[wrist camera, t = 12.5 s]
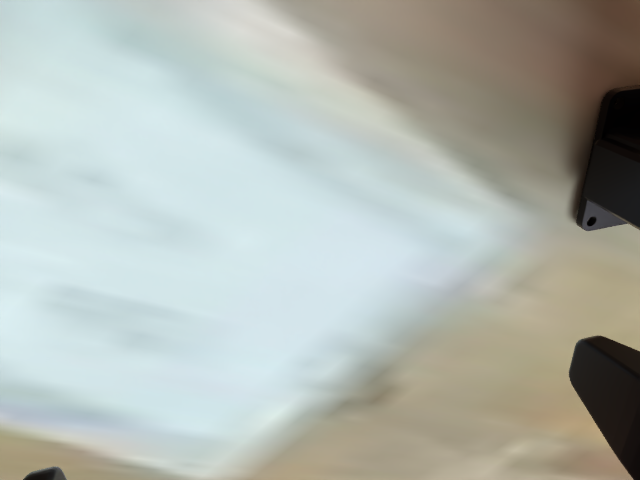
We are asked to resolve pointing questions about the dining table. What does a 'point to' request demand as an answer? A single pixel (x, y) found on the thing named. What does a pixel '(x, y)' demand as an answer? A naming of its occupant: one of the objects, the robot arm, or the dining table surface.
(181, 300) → the dining table surface
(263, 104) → the dining table surface
